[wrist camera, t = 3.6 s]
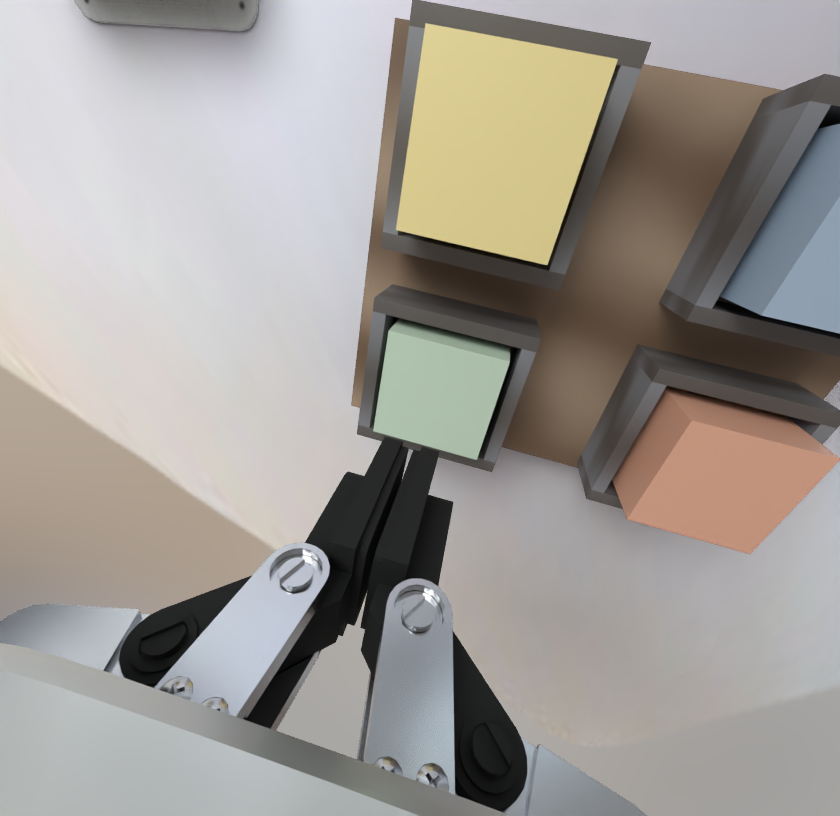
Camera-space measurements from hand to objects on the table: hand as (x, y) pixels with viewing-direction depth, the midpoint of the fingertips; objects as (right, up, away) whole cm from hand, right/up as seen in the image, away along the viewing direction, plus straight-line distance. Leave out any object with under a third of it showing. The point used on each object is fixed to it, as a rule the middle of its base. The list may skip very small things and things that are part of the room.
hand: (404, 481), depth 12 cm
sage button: (+2, +4, +9) cm, 10 cm away
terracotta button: (+13, 0, +7) cm, 15 cm away
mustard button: (+3, +11, +3) cm, 12 cm away
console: (+9, +8, +8) cm, 14 cm away
